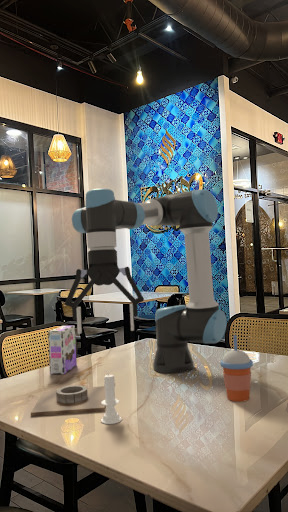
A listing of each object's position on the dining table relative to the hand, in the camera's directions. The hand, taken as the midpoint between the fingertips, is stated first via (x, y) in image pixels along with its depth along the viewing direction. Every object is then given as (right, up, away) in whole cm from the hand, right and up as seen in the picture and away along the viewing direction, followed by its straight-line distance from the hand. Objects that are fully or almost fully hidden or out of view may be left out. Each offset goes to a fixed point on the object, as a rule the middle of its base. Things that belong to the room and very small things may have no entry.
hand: (106, 331), depth 107 cm
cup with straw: (+37, -21, +11) cm, 44 cm away
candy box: (-21, -25, +54) cm, 64 cm away
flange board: (-11, -24, +16) cm, 31 cm away
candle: (+1, -23, -1) cm, 23 cm away
